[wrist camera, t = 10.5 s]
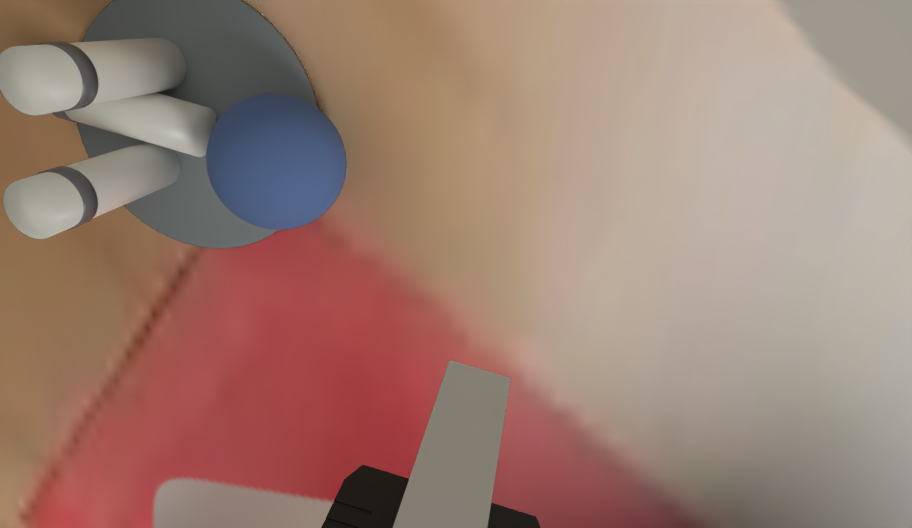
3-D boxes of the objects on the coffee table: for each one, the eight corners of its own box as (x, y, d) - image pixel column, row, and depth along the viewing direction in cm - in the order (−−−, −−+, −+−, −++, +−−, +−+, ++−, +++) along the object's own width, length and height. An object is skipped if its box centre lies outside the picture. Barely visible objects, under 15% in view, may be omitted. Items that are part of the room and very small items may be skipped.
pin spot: (341, 21, 28) (339, 21, 28) (302, 275, 33) (301, 277, 33) (74, -50, 29) (71, -51, 29) (77, 209, 34) (74, 210, 34)
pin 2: (184, 145, 32) (60, 188, 24) (182, 191, 33) (61, 247, 25) (138, 132, 32) (0, 170, 24) (137, 179, 33) (4, 230, 25)
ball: (217, 71, 29) (350, 90, 30) (215, 194, 31) (337, 206, 33) (195, 101, 23) (356, 122, 25) (194, 246, 26) (341, 258, 27)
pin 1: (191, 43, 30) (57, 54, 22) (187, 96, 31) (58, 124, 23) (142, 30, 30) (-9, 36, 22) (140, 82, 31) (-4, 106, 23)
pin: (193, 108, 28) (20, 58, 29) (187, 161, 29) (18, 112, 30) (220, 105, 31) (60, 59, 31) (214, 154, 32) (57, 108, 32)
